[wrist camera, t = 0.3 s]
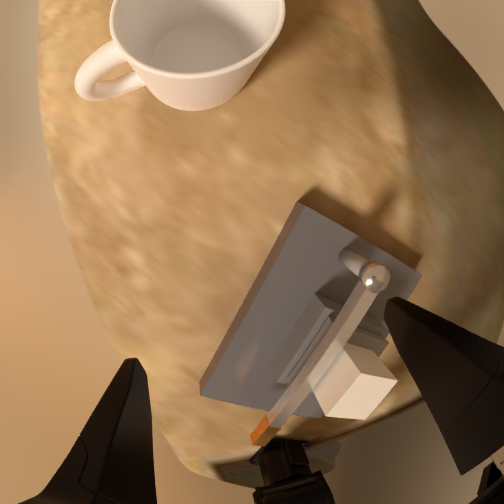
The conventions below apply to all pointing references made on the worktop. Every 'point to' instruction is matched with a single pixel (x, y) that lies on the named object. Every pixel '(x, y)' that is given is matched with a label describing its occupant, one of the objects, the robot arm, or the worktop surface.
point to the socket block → (297, 309)
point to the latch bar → (325, 350)
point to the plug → (351, 375)
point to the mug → (183, 49)
